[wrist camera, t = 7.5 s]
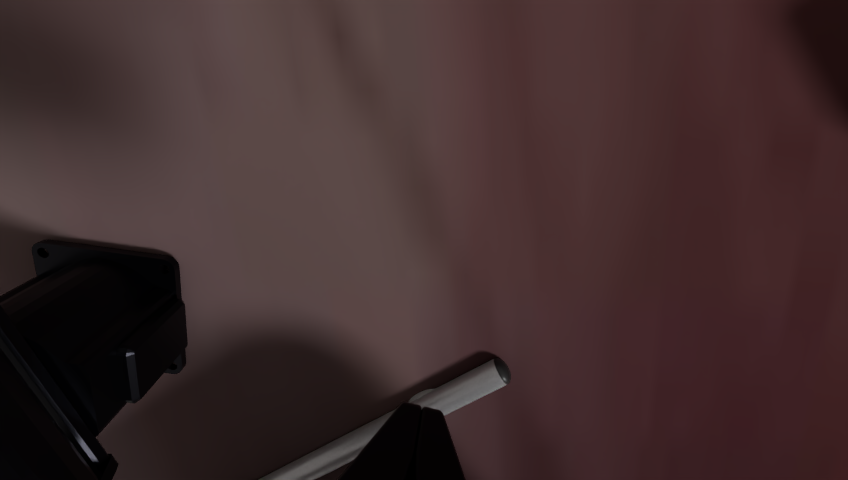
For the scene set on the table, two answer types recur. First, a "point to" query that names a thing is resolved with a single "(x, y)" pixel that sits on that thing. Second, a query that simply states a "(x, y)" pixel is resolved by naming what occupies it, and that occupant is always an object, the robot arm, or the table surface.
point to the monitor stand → (345, 449)
